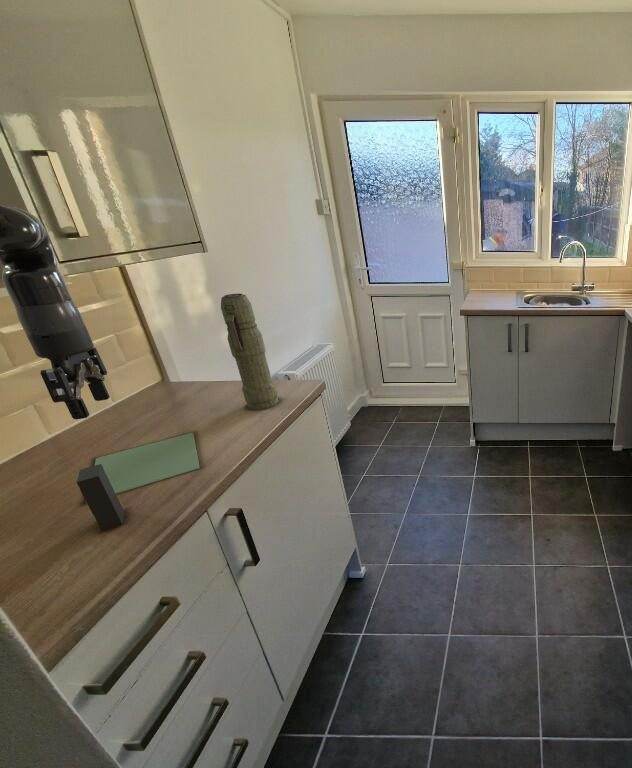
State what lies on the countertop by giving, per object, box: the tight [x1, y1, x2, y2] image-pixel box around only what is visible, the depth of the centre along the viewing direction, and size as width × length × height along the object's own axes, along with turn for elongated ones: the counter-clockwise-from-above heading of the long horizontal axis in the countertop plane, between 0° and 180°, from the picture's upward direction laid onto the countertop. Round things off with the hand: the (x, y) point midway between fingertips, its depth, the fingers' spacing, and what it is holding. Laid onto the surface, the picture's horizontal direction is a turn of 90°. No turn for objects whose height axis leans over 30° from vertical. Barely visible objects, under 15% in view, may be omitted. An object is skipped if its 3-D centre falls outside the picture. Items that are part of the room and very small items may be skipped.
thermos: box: [220, 293, 280, 411], centre depth 125 cm, size 9×12×35 cm
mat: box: [85, 432, 201, 504], centre depth 102 cm, size 20×22×1 cm
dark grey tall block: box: [76, 464, 125, 532], centre depth 81 cm, size 3×5×12 cm, turn 39°
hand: (92, 408), depth 80 cm, fingers open, 8 cm apart
